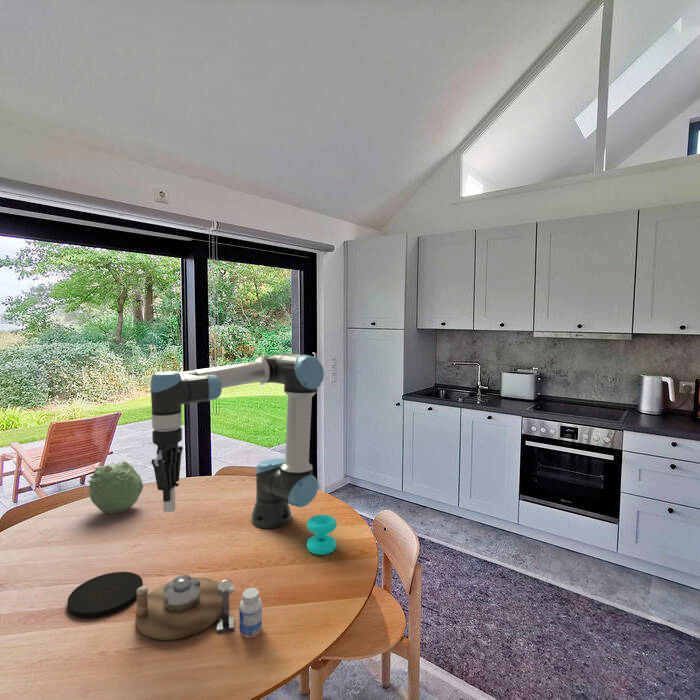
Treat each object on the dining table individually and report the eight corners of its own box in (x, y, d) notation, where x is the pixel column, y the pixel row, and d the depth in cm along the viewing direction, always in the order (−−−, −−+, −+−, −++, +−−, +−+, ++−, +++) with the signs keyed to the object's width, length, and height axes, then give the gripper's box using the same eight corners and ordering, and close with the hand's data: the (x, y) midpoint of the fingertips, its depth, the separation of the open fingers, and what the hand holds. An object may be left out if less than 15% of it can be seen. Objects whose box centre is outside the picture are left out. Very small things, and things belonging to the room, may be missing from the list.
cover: (175, 589, 115) (175, 568, 115) (206, 593, 114) (206, 571, 113) (155, 611, 106) (155, 588, 106) (188, 615, 105) (188, 592, 104)
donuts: (300, 519, 141) (322, 510, 149) (300, 548, 142) (322, 538, 149) (321, 529, 135) (342, 519, 142) (320, 560, 135) (342, 548, 143)
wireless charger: (95, 577, 124) (95, 570, 124) (154, 579, 124) (154, 572, 124) (50, 618, 107) (50, 611, 107) (119, 621, 106) (119, 614, 106)
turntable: (168, 578, 122) (168, 551, 122) (240, 587, 119) (240, 559, 118) (115, 632, 101) (114, 599, 100) (200, 645, 97) (200, 611, 97)
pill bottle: (241, 623, 106) (241, 585, 105) (263, 622, 106) (263, 585, 106) (237, 639, 100) (237, 599, 100) (260, 638, 101) (260, 599, 100)
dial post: (234, 619, 107) (234, 574, 107) (233, 630, 103) (234, 583, 103) (217, 621, 106) (217, 576, 106) (216, 633, 102) (216, 586, 102)
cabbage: (150, 509, 169) (150, 461, 168) (99, 526, 154) (98, 473, 153) (132, 499, 179) (131, 453, 178) (82, 514, 164) (81, 464, 163)
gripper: (166, 421, 123) (168, 500, 125) (140, 434, 110) (143, 521, 112) (190, 422, 122) (192, 501, 124) (168, 434, 109) (170, 522, 111)
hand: (169, 510), depth 118 cm, fingers closed
